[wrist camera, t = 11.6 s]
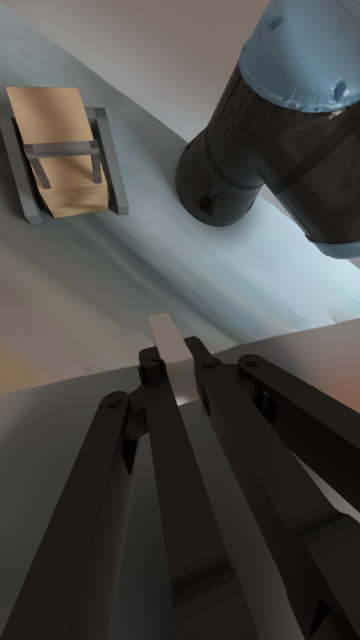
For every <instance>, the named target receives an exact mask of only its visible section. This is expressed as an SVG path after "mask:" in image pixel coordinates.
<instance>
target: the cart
mask: <svg viewBox="0 0 360 640" xmlns="http://www.w3.org/2000/svg"><path fill="white" fill-rule="evenodd" d="M6 90H7V93H8V96H9V99H10V102H11V105H12V108H13V111H14V114H15V118H16V121H17V124H18V127H19V130H20V134H21V137H22V140H23V142H24V144H22V145H23V148H24V151H25V154H26V156H27V158H28V160H29V161H30V164H31V167H32V170H33V173H34V176H35V179H36V183H37V186H38V189H39V192H40V196H41V199H42V202H43V204H44V207H45V209H46V211H51V213H52V214H53V216H54V218H59V217H66V216H72V215H79V214H86V213H93V212H100V211H107V210H108V203H111V198H110V193H109V190H108V187H107V182H106V179H105V176H104V172H103V169H102V165H101V162H100V155H99V147H98V143H97V140H94V139H93V135H92V132H91V128H90V125H89V122H88V118H87V115H86V112H85V108H84V105H83V102H82V98H81V95H80V91H79V88H62V87H6Z"/></svg>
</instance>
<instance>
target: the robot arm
mask: <svg viewBox="0 0 360 640" xmlns="http://www.w3.org/2000/svg"><path fill="white" fill-rule="evenodd" d="M175 179H176V187H177V191H178V194H179V197H180V199H181V201H182V203H183V204H184V206H185V207H186V209H187V210H188V211H189V212H190V213H191V214H192V215H193V216H194V217H195V218H196V219H198V220H199V221H201V222H203V223H205V224H208V225H211V226H217V227H222V226H228V225H231V224H233V223H235V222H236V221H238V220H239V219H240V218H241V217H243V216H244V215H245V214H246V213H247V212H248V211H249V209H250V208H251V207H252V205H253V203H254V201H255V198H256V196H257V194H258V193H259V191H260V189H261V187H262V186H263V185H264V184H266V185H267V187H268V188H269V189H270V190H271V192H272V193H273V194H274V195H275V197H276V198H277V199H278V201H279V202H280V203H281V204H282V206H283V207H284V208H285V209H286V211H287V212H288V213H289V214H290V215H291V217H292V218H293V219H294V221H295V222H296V223H297V224H298V226H299V227H300V228H301V229H302V231H303V232H304V233H305V236H306V238H307V239H308V240H309V241H310V242H312V243H314V244H315V246H316V247H317V248H318V249H319V250H320V251H321V252H322V253H323V254H325V255H326V256H330V257H332V258H336V259H353V258H359V257H360V1H359V0H271V1H270V3H269V4H268V6H267V7H266V9H265V11H264V13H263V15H262V17H261V18H260V20H259V22H258V24H257V26H256V28H255V30H254V31H253V33H252V35H251V37H250V38H249V39H248V40H247V41H246V43H245V45H244V46H243V49H242V51H241V53H240V57H239V60H238V63H237V65H236V67H235V69H234V71H233V73H232V75H231V77H230V79H229V82H228V84H227V86H226V88H225V90H224V93H223V95H222V97H221V98H220V101H219V103H218V105H217V107H216V109H215V111H214V113H213V115H212V118H211V120H210V122H209V124H208V126H207V127H206V128H205V129H204V130H203V131H202V132H201V133H199V134H198V135H197V136H196V138H194V139H193V140H192V141H191V142H190V143H189V144H188V145H187V146H186V148H185V149H184V151H183V153H182V155H181V157H180V160H179V162H178V165H177V168H176V177H175ZM148 319H149V323H150V328H151V332H152V337H153V342H154V346H155V347H151V348H147V349H143V350H141V351H140V353H139V361H140V365H139V367H138V371H139V375H140V379H141V385H140V386H139V388H137V389H136V390H135V391H133V392H131V393H130V394H127V393H126V392H123V391H116V392H113V393H111V394H109V395H107V396H106V397H104V398H103V399H102V401H101V402H100V404H99V406H98V409H97V411H96V414H95V416H94V418H93V421H92V423H91V426H90V428H89V430H88V432H87V435H86V437H85V440H84V442H83V444H82V447H81V449H80V451H79V454H78V456H77V458H76V461H75V463H74V465H73V468H72V470H71V473H70V475H69V477H68V480H67V482H66V484H65V487H64V489H63V492H62V494H61V496H60V499H59V501H58V504H57V506H56V508H55V510H54V513H53V515H52V517H51V520H50V522H49V524H48V527H47V529H46V532H45V534H44V536H43V539H42V541H41V543H40V546H39V548H38V550H37V553H36V555H35V558H34V560H33V562H32V565H31V567H30V569H29V572H28V574H27V576H26V579H25V581H24V583H23V586H22V588H21V591H20V593H19V595H18V598H17V600H16V602H15V605H14V607H13V609H12V612H11V614H10V617H9V619H8V621H7V624H6V626H5V629H4V631H3V633H2V635H1V638H0V640H109V634H110V628H111V622H112V616H113V610H114V603H115V597H116V591H117V585H118V579H119V572H120V567H121V561H122V554H123V548H124V542H125V536H126V529H127V523H128V517H129V511H130V505H131V499H132V492H133V487H134V481H135V475H136V468H137V462H138V456H139V450H140V444H141V436H143V435H144V434H146V433H148V432H149V436H150V443H151V450H152V457H153V463H154V471H155V478H156V484H157V491H158V497H159V505H160V512H161V519H162V526H163V533H164V539H165V546H166V553H167V560H168V566H169V574H170V581H171V603H172V612H173V621H174V628H175V635H176V640H260V639H259V636H258V633H257V631H256V628H255V625H254V622H253V619H252V616H251V613H250V610H249V608H248V604H247V602H246V599H245V596H244V593H243V590H242V587H241V584H240V581H239V579H238V576H237V574H236V571H235V569H234V567H233V565H232V563H231V561H230V560H229V557H228V554H227V551H226V549H225V546H224V543H223V540H222V536H221V534H220V530H219V527H218V525H217V521H216V518H215V515H214V513H213V509H212V507H211V503H210V500H209V497H208V494H207V492H206V488H205V485H204V482H203V479H202V477H201V473H200V470H199V467H198V464H197V461H196V458H195V456H194V453H193V449H192V446H191V444H190V441H189V437H188V434H187V431H186V429H185V426H184V423H183V420H182V417H181V414H180V411H179V408H178V405H181V404H184V403H188V402H191V401H194V400H198V399H199V396H198V393H199V395H200V397H201V402H202V410H203V416H204V417H205V413H206V415H207V418H208V420H209V422H210V424H211V426H212V428H213V431H214V433H215V435H216V437H217V439H218V441H219V443H220V445H221V448H222V450H223V452H224V454H225V457H226V459H227V461H228V463H229V465H230V467H231V470H232V472H233V474H234V476H235V478H236V480H237V482H238V485H239V487H240V489H241V491H242V493H243V495H244V498H245V500H246V502H247V504H248V506H249V508H250V511H251V513H252V515H253V517H254V519H255V521H256V523H257V525H258V528H259V530H260V532H261V534H262V536H263V539H264V540H265V543H266V545H267V547H268V549H269V552H270V554H271V556H272V558H273V560H274V562H275V564H276V566H277V569H278V571H279V573H280V576H281V578H282V581H283V583H284V587H285V590H286V594H287V596H288V600H289V603H290V606H291V608H292V611H293V613H294V616H295V618H296V621H297V623H298V625H299V628H300V630H301V632H302V634H303V636H304V639H305V640H360V523H359V522H358V521H357V520H355V519H354V518H353V517H351V516H350V515H348V514H345V513H341V512H339V511H338V510H337V509H335V508H334V507H333V505H332V504H331V503H330V502H329V501H328V500H327V498H326V497H325V495H324V494H323V493H322V492H321V490H320V489H319V488H318V486H317V485H316V484H315V482H314V481H313V480H312V479H311V477H310V476H309V475H308V473H307V472H306V471H305V470H304V468H303V467H302V466H301V464H300V463H299V462H298V460H297V459H296V458H295V456H294V455H293V454H292V453H291V451H292V452H293V453H294V454H295V455H296V456H297V457H298V458H300V459H301V460H302V461H303V462H304V463H305V464H306V465H307V466H308V467H310V468H311V469H312V470H313V471H314V472H315V473H316V474H317V475H318V476H320V477H321V478H322V479H323V480H324V481H325V482H326V483H327V484H328V485H329V486H331V487H332V488H333V489H334V490H335V491H336V492H337V493H338V494H339V495H341V496H342V497H343V498H344V499H345V500H346V501H347V502H348V503H349V504H350V505H352V506H353V507H354V508H355V509H356V510H357V511H358V512H359V513H360V413H358V412H356V411H354V410H353V409H351V408H349V407H347V406H346V405H344V404H342V403H340V402H339V401H337V400H335V399H333V398H332V397H330V396H328V395H326V394H325V393H323V392H321V391H320V390H318V389H316V388H314V387H313V386H311V385H309V384H307V383H306V382H304V381H302V380H300V379H298V378H297V377H295V376H293V375H292V374H290V373H288V372H287V371H285V370H283V369H281V368H280V367H278V366H276V365H274V364H272V363H271V362H269V361H267V360H266V359H264V358H262V357H260V356H258V355H253V354H249V355H244V356H241V357H240V358H239V360H238V364H223V363H222V361H220V360H219V359H218V358H215V357H212V355H211V354H210V353H209V351H208V350H207V348H206V347H205V346H204V344H203V343H202V342H201V340H200V339H199V338H197V337H195V336H193V337H189V338H185V339H182V337H181V335H180V333H179V332H178V330H177V328H176V326H175V325H174V323H173V321H172V320H171V318H170V316H169V314H168V313H163V314H158V315H154V316H150V317H148ZM266 393H267V394H266ZM289 449H290V450H291V451H290V450H289Z"/></svg>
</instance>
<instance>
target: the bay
mask: <svg viewBox="0 0 360 640" xmlns="http://www.w3.org/2000/svg"><path fill="white" fill-rule="evenodd" d="M84 108H85V112H86V115H87V118H88V122H89V125H90V128H91V132H98V135H99V139H100V143H101V147H102V151H103V155H104V159H105V163H106V167H107V171H108V175H109V179H110V183H111V187H112V191H113V195H114V199H115V203H116V207H117V211H118V215H125V214H128V209H129V205H128V201H127V197H126V193H125V189H124V185H123V181H122V177H121V173H120V169H119V165H118V161H117V157H116V153H115V149H114V145H113V141H112V137H111V133H110V129H109V124H108V120H107V116H106V112H105V108H91V107H84ZM0 128H1V132H2V135H3V139H4V143H5V146H6V150H7V153H8V157H9V160H10V164H11V168H12V171H13V175H14V178H15V182H16V185H17V189H18V192H19V196H20V200H21V203H22V207H23V210H24V214H25V217H26V218H27V219H28V220H29V222H30V223H31V224H41V223H43V220H42V217H41V213H40V209H39V206H38V202H37V198H36V195H35V191H34V188H33V184H32V180H31V177H30V173H29V169H28V166H27V162H26V159H25V155H24V151H23V148H22V144H21V140H20V137H19V133H18V132H20V130H19V127H18V124H17V121H16V118H15V114H14V111H13V108H12V105H0Z"/></svg>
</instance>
